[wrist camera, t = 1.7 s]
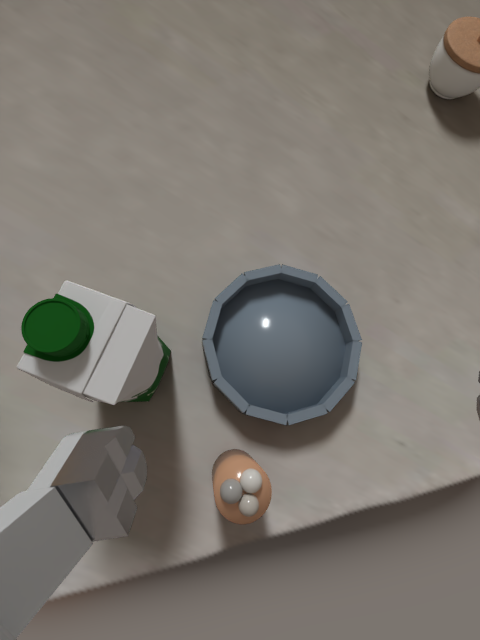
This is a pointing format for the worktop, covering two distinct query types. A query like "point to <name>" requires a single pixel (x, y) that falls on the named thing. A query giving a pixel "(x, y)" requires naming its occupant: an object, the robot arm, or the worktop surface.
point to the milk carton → (93, 346)
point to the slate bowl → (282, 344)
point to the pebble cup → (240, 487)
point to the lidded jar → (457, 60)
